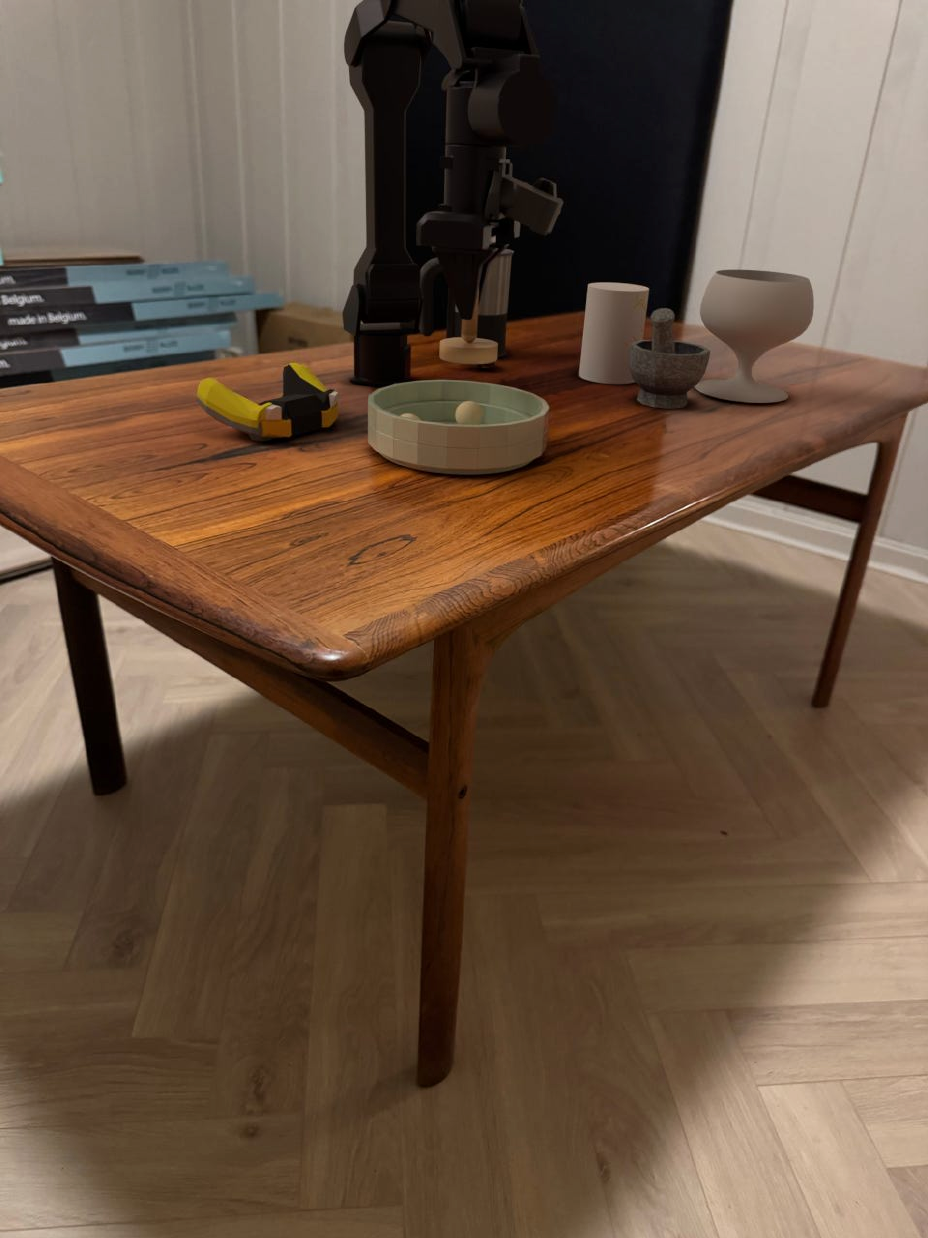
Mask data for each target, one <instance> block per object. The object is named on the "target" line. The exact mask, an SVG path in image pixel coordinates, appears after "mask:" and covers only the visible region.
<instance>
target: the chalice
mask: <svg viewBox="0 0 928 1238" xmlns="http://www.w3.org/2000/svg"><path fill="white" fill-rule="evenodd" d="M814 299H815V298H814V291H813V287H812V282H811V280H810V278H808V277H806V276H802V275H798V274H794V273H793V274H792V273H786V272H781V271H780V272H778V271H770V270H759V269H758V270H757V269H755V270H754V269H721V270H717V271H715V273H713V275H712V276H711V278H710V279H709V281H708V284H707V286H706V288H705V290H704V293H703V296H702V299H701V301H700V302H701V303H700V307H699V315H700V316H699V317H700V320H701V322H702V324H703V326H704V327H705V329H706V330H707V331H708V332H710V333H711V334H712V335H714V336H715V337H716V338H718V339H719V340H720V341H722V342H723V343H724V344H725V345H726V346H727V347H728V348H730V349H731V350H732V352H733V353H734V354H735V357H736V359H737V364H738V365H737V366H738V367H737V370H736V373H735V374H734V375H733V376H732V377H730V378H712V379H711V378H710V379H706V380H700V381H699V382H698V384H697V385H695V386H694V388H695V390H697V391H698V392H699V393H702V394H703V395H706V396H709V397H713V398H716V399H720V400H725V401H730V402H736V403H737V402H739V403H748V404H769V403H778V402H782V401H785V400H787V399H788V397H789V395H788V394H787V392H786V391H785V390H783V389H782V388H780V387H777V386H774V385H771V384H767V383H764V382H760V381H756V380H755V378H754V376H753V367H754V365H755V363H756V361H758V359H759V358H760V357H761V356H762V355H765V354H766V353H767V352H769V351H771V350H774V349H775V348H777V347H780V346H782V345H784V344H787V343H789V342H791V341H793V340H796V339H797V338H799V337H800V336H802V335H803V334H804V333H805V332H806V331H807V330H808V328H809V327H810V325H811V323H812V320H813V316H814V308H815V307H814V305H815V304H814V303H815V301H814Z"/></svg>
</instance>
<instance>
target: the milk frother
mask: <svg viewBox="0 0 928 1238" xmlns="http://www.w3.org/2000/svg"><path fill="white" fill-rule="evenodd" d="M514 253H515V250H512V249H511V248H509V249H508V248H506V249H505V250H504V251H502V252H501V253H500V254H499V255H498V256H497V257H496V258H495V259H494V260H493V261H492V263H491V266H490V270H489V273H488V276H487V280H486V284H485V287H484V291H483V295H482V298H481V302H480V305H479V309H478V322H477V337H476V338H481V339H487V340H492V341H495V342H497V343H498V351H497V359H498V358H502V357H505V356H506V355H507V354H508V351H507V350H506V344H507V343H506V342H507V321H508V307H509V296H510V295H509V294H510V282H511V281H510V280H511V269H512V268H511V267H512V257H513V255H514ZM420 272H421V273H420V288H421V291H422V296H423V305H422V311H421V317H420V323H419V328H418V331H419V333H420V334H421V335H422V336H424V337H426V338H427V337H428V338H430V337H431V336H433V333H434V283H435V282H434V281H435V279H436V278H437V276H438V275H439V274H442V273H443V271H442V268H441V266H440V263H439V261H438V259H437V257H433V258H431V259H430V260H428V261H427V262H425V263H424V264H423V265H422V267H421V268H420ZM447 290H448V291H447V309H446V328H445V329H446V330H445V339H447V338H457V337H462V336H461V331H462V319H461V317H460V315H459V312H458V309H457V307H456V304H455V301H454V299H453V296H452V293H451V291H450V288H449V287H448V288H447ZM495 364H496V361H495V362H492V363H486V365H490V366H495ZM475 365H476V368H479V369H482V368H483V365H484V364H475Z"/></svg>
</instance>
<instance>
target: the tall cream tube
mask: <svg viewBox="0 0 928 1238" xmlns="http://www.w3.org/2000/svg"><path fill="white" fill-rule="evenodd" d="M649 294H650V288H649V287H647V286H644V285H640V284H639V285H638V284H634V283H623V282H591V283H588V284H587V291H586V302H585V311H584V320H583V330H582V340H581V350H580V360H579V369H578V377H579V378H581V379H583V380H585V381H589V382H592V383H598V384H604V385H605V384H606V385H628V384H633V383H636V382H635V381H634V379H633V377H632V375H631V372H630V369H629V356H628V354H629V347H630V344H631V343H633V342H635V341H637V340H644V331H645V326H646V325H645V324H646V317H647V309H648V301H649Z"/></svg>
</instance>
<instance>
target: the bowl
mask: <svg viewBox="0 0 928 1238" xmlns="http://www.w3.org/2000/svg"><path fill="white" fill-rule="evenodd" d="M466 401H473V402H476V403H477V404H479V405H480V407H481V408H482V410H483V421H482V423H481V424H480V425H466V424H458V423H457V421H456V410H457V408H458V407H459V405H460V404H462V403H463V402H466ZM407 413H409V414H413V415H416V416H417V417H418V418H419V419H420V420H421V421H420V420H416V419H411V418H407V417H402V416H401V415H403V414H407ZM549 419H550V406H549V404H548V403H547V401H546V399H544V398H542V397H540V396H538V395H537V394H535V393H533V392H530V391H527V390H523V389H521V388H517V387H513V386H508V385H502V384H498V383H493V382H492V383H491V382H482V381H474V380H461V379H460V380H459V379H458V380H455V379H431V380H429V379H427V380H414V381H407V382H406V381H405V382H403V383H398V384H393V385H390V386H382V387H380V388H377V389H376V390H374V391H373V392H371V393H369V394H368V398H367V444H368V445H369V446H370V447H372V449H373V450H374V451H375V452H377V453H379V454H380V455H381V457H383V458H384V459H386V460H388V461H389V462H391V463H394V464H396V465H399V466H401V467H405V468H408V469H413V470H417V471H423V472H429V473H434V474H443V475H444V474H445V475H460V476H463V475H465V476H468V475H469V476H470V475H472V476H473V475H490V474H499V473H504V472H509V471H514V470H517V469H520V468H523V467H525V466H527V465H529V464H531V463H533V461H534V460H535V459H537V458H539V457H542V455H543V453H544V452H545V450H546V448H547V441H548V428H549Z"/></svg>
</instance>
